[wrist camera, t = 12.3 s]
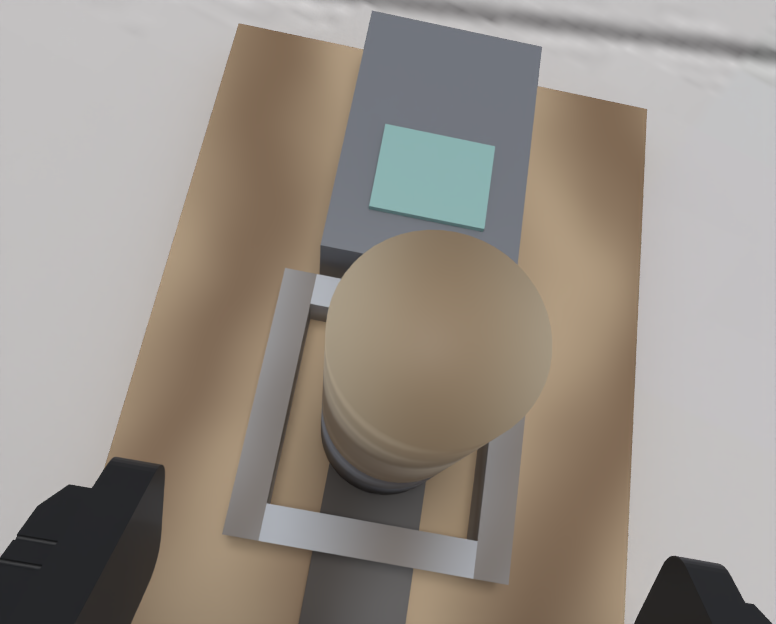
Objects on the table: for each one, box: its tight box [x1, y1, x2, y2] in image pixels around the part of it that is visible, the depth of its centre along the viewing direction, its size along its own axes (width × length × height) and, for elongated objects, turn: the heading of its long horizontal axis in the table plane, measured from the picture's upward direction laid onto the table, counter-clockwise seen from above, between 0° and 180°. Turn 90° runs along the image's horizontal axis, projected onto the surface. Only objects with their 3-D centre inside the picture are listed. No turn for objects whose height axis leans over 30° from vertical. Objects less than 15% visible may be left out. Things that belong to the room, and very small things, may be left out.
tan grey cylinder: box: [321, 230, 552, 495], centre depth 17 cm, size 4×4×10 cm
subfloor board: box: [104, 24, 647, 624], centre depth 23 cm, size 16×22×3 cm
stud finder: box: [320, 11, 542, 279], centre depth 23 cm, size 6×9×3 cm, turn 171°
